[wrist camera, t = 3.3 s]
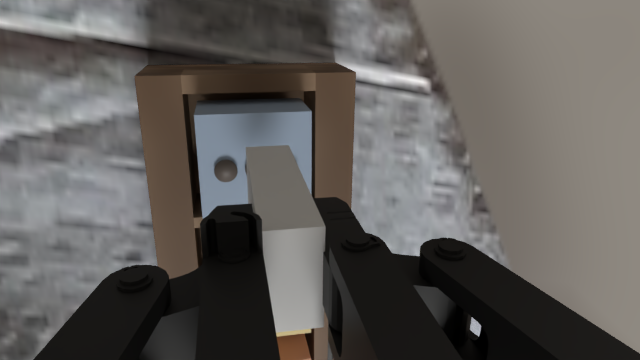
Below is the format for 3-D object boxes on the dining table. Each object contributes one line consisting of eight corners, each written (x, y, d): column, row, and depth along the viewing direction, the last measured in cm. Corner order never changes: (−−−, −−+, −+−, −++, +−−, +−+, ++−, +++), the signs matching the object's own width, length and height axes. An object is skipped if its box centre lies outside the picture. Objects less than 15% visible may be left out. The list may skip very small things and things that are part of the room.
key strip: (184, 386, 29) (179, 439, 25) (147, 65, 22) (134, 76, 19) (329, 366, 30) (344, 413, 27) (335, 62, 24) (355, 72, 20)
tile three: (204, 196, 22) (203, 225, 19) (197, 100, 21) (193, 115, 18) (300, 190, 23) (312, 217, 20) (299, 97, 21) (312, 112, 18)
